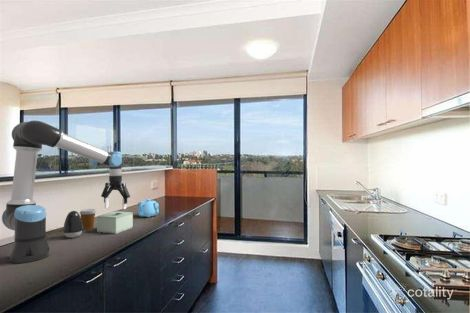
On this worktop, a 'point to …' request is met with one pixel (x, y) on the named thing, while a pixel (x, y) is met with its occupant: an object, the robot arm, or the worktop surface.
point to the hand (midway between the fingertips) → (115, 208)
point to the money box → (114, 222)
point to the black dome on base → (73, 225)
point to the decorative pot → (147, 208)
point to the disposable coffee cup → (87, 218)
